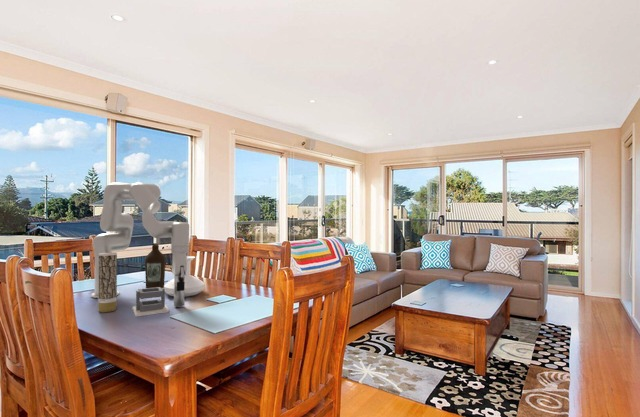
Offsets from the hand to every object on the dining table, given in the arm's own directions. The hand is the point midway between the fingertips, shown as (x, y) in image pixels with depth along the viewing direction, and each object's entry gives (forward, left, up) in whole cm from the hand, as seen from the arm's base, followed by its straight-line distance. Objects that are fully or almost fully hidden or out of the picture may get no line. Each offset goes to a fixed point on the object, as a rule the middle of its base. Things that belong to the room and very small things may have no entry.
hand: (179, 289), depth 162 cm
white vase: (-24, +7, -9) cm, 26 cm away
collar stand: (-1, -12, -8) cm, 14 cm away
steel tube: (0, 0, -7) cm, 7 cm away
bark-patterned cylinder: (-10, -28, -8) cm, 31 cm away
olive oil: (-48, -4, -8) cm, 49 cm away
